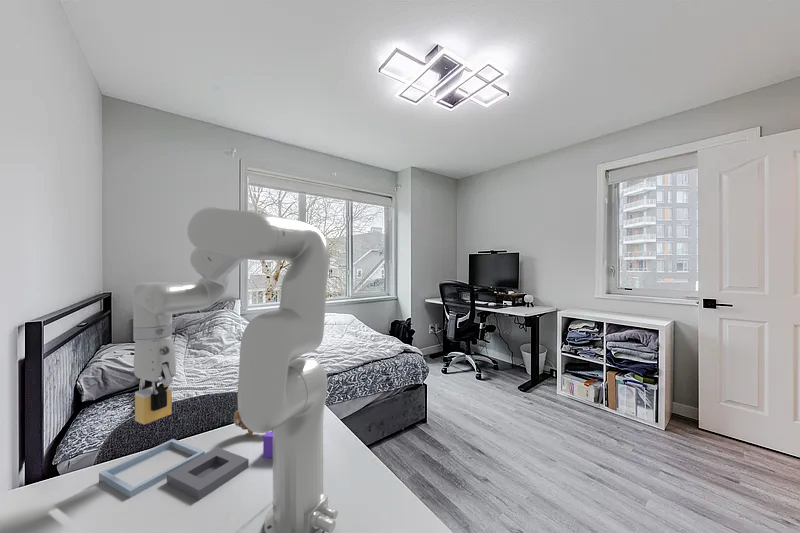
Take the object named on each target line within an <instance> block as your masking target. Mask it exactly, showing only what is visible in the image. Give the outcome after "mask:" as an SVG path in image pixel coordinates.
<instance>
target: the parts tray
mask: <svg viewBox="0 0 800 533" xmlns="http://www.w3.org/2000/svg"><path fill="white" fill-rule="evenodd" d="M172 449H176V450H178V451H181V452H183V453H185V454H187V455H190V456H189V457H187V458H186V459H184V460H182V461H180V462H178V463H176V464H174V465H172V466H170V467H168V468H166V469H164V470H163V471H161V472H158V473H157V474H155V475H153V476H151V477H149V478H147V479H146V480H144V481H142V482H140V483H138V484H136V485H134V486H133V485H131V484H129V482H125V481H124V480H122V479H121V478H119V477H117V475H119V474H122V473H123V472H126V471H128V470H129V469H132V468H133V467H136V466H138V465H140V464H143V463H145V462H147V461H149V460H151V459H152V458H155V457H157V456H158V455H159V456H160V455H161V454H163V453H165V452H167V451H170V450H172ZM205 453H206V452H205V451H204V450H202V449H199V448H197V447H195V446H192V445H190V444H187V443H185V442H182V441H179V440H177V439H176V438H171V439H169V440H168V441H165V442H163V443H161V444H159V445H157V446H154V447H152V448H149V449H148V450H146V451H143V452H141V453H140V454H139V453H138V454H137V455H134V456H132V457H130V458H128V459H126V460H124V461H122V462H119V463H117V464H115V465H113V466H111V467H108V468H106V469H104V470H102V471H99V472H98V483H99V484H101V483H102V482H103V483H105V484H106V485H108V486H110V487H112V488H114V489H116V491H118V492H119V493H122V494H123V495H125V496H127V497H129V498H130V499H131V498H133V497H135V496H137V495H139V494H140V493H142V492H143V491H144V492H145V490H148V489H149V488H151V487H153V486H155V485H157V484H158V483H160V482H162V481H165V479H166V480H167V474H168V473H170V472H172V471H174V470H176V469H178V468H179V467H181V466H183V465H185V464H187V463H189V462H190V461H192V460H194V459H196V458H198V457H200V456H202V455H203V454H205Z"/></svg>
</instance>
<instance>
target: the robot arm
mask: <svg viewBox="0 0 800 533" xmlns="http://www.w3.org/2000/svg"><path fill="white" fill-rule="evenodd" d="M187 237H188V240H189V241H190V243H191V244H192V245H193V246H194V247H195V249H193V250H192V252H191V254H190V257H189V258H190V259H189V260H190V263H191V266H192V268H193V270H194V271H195V272H196V273H197V274H199V276H201V278H200V279H199V280H198V279H197V280H194V281H193V280H190V281H189V280H188V281H187V280H186V281H174V282H173V281H172V282H171V281H170V282H165V281H164V282H163V281H157V282H156V281H151V282H150V281H149V282H140V283H137V284H136V285H134V287H133V290H132V292H133V293H132V296H133V297H132V300H133V302H132V303H133V304H132V305H133V308H132V310H133V318H132V319H133V322H132V323H133V326H132V327H133V334H132V335H133V342H135V343H134V352H133V373H134V376H135V377H136V378H137V381H138V383H139V388H138V389H139V391H140V390H143V389H146V388H149V387H152V388H153V394H151V411H156V410H159V409H161V408H164V407H166V406H167V391H168V387H169V386H171V385H172V384H173V378H174V377H175V376H176V375H177V362H176V353H175V352H176V351H175V344H174V340H173V315H175V314H181V313H189V312H196V311H202V310H205V309H207V308H209V307H210V306H212V305H213V304H215V303H216V302H217V301H218V300H219V299H221V297H222V296H224V294H225V293H226V291H227V290H228V287H229V281H230V273H232V271H234V270H235V269H236V267H238V266H239V265H240V264H241V263H243V261H245V260H252V261H288V262H289V263H290V265H289V266H288V268H287V270H286V272H285V273H284V276H283V278H282V281H281V286H280V299H279V306H278V309H275V310H270V311H266V312H263V313H260V314H258V315H257V316H255V317H253V318H252V319H251V320H250V321H249V322H248V323H247V325H246V327H245V329H244V331H243V333H242V336H241V339H240V346H239V362H238V363H239V364H238V380H237V381H238V382H237V410H239V414H240V417H241V420H242V422H243V423H244V425H245V426H246V427H247V428H248V429H249V430H250V431H252V432H253V433H256V434H266V433H267V432H271V431H272V430H273V458H272V508H271V509H270V510H269V511H268V512H267V514H266V516H265V520H264V526H263V528H264V533H323V532H326V533H333V532H334V531H335V528H336V521H335V520H336V519H337V518H338V515H339V513H338V512H339V511H338V510H336V509H333V508H332V505H331V501H330V500H329V499H328V495H326V494H324V418H325V417H324V416H325V415H324V414H325V407H326V400H327V394H328V385H329V384H328V376H327V372H326V369H325V368H324V366H323V365H322V364H321V363H320V362H319V361H318V360H316V359H313V358H310V357H304V356H306V355H308V354H310V353H313V352H314V351H316V350H317V349H318V348H319V347H320V346H321V344H322V342H323V339H324V334H325V322H326V321H325V318H326V317H325V316H326V301H327V281H328V274H329V267H330V258H331V257H330V254H331V253H330V248H329V244H328V241H327V240H326V238H325V236H324V234H323V233H322V232H321V231H320V230H319V229H317V227H314V225H311V224H310V223H308V222H305V221H302V220H297V219H294V218H289V217H284V216H277V215H273V214H268V213H262V212H256V211H248V210H237V209H229V208H222V207H220V208H219V207H215V206H214V207H213V206H209V207H205V208H202V209H200V210H197V212H195V213H194V214H193V215H192V216H191V218H190V220H189V222H188V225H187ZM161 377H162V378H161ZM157 385H159V386H157Z"/></svg>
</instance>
